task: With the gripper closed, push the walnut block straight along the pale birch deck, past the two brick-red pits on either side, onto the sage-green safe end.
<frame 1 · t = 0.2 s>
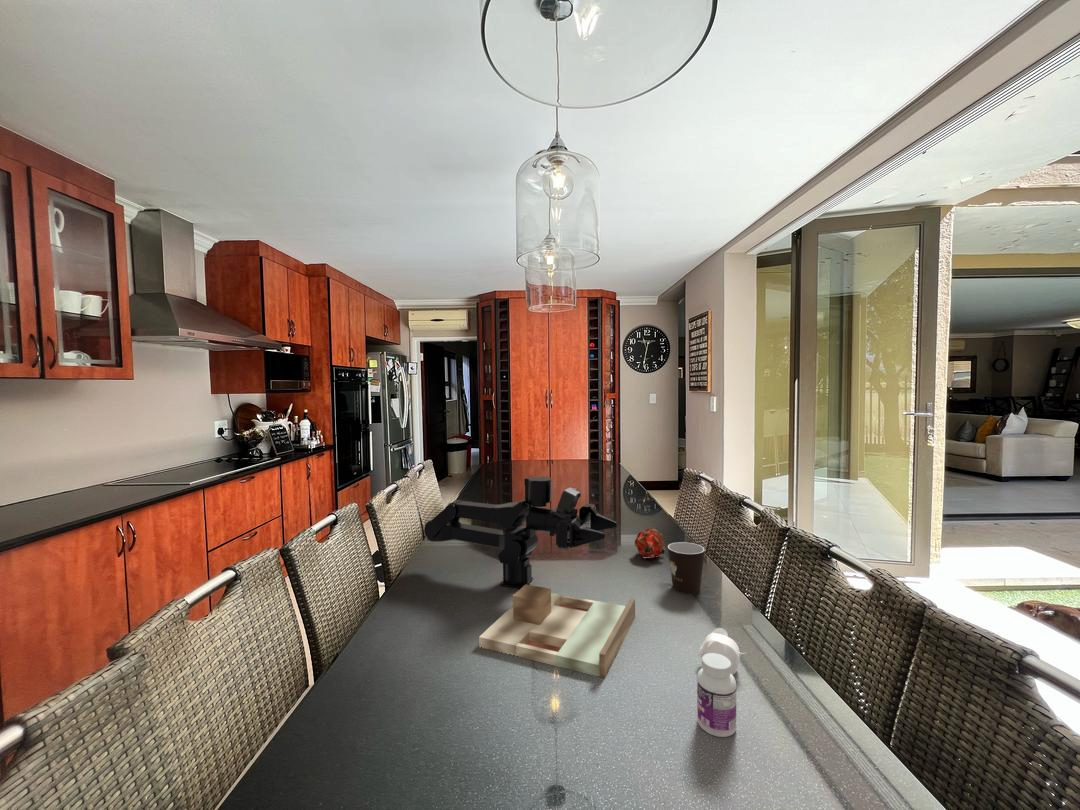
hand: (611, 530, 107), 17 cm above the table, tool horizontal, fingers open, 9 cm apart
coffee mug: (685, 586, 115), on the table
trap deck: (559, 630, 95), on the table
dragon fruit: (650, 557, 136), on the table
walnut block: (532, 615, 97), point 2 cm above the table, touching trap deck
pill bottle: (716, 726, 67), on the table
elephant figurine: (721, 669, 81), on the table
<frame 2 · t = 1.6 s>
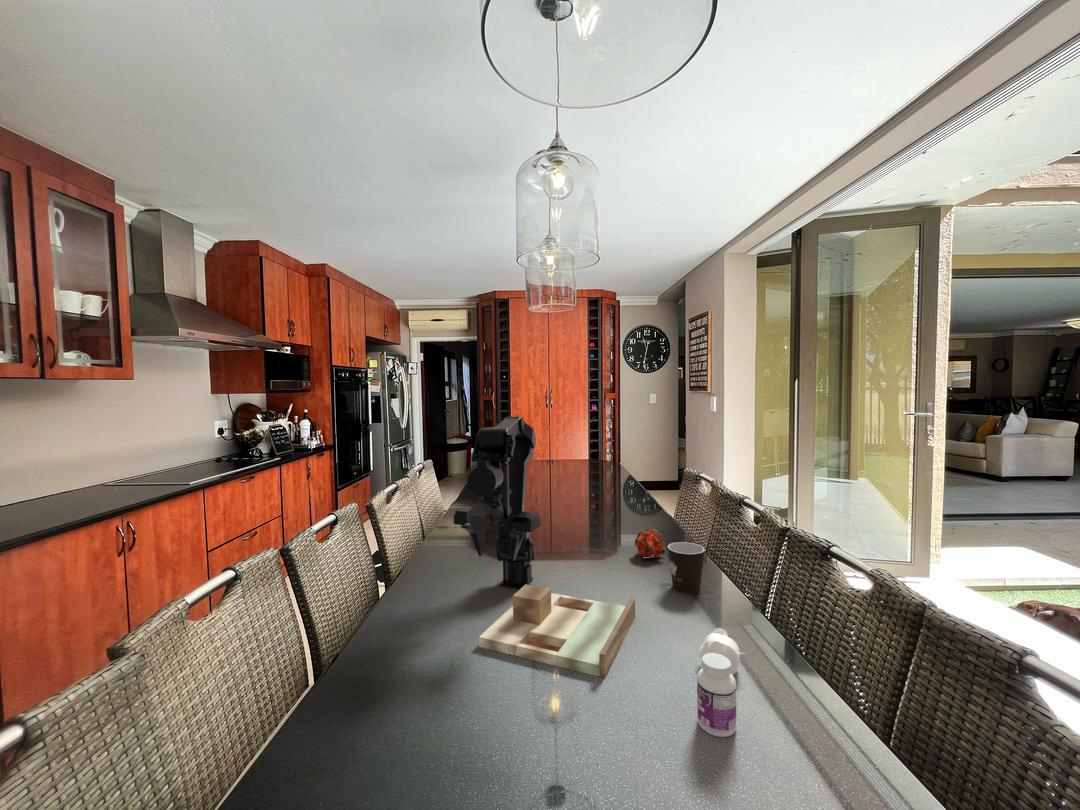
hand: (496, 558, 100), 13 cm above the table, tool pointing down, fingers open, 8 cm apart
nothing on the table moved.
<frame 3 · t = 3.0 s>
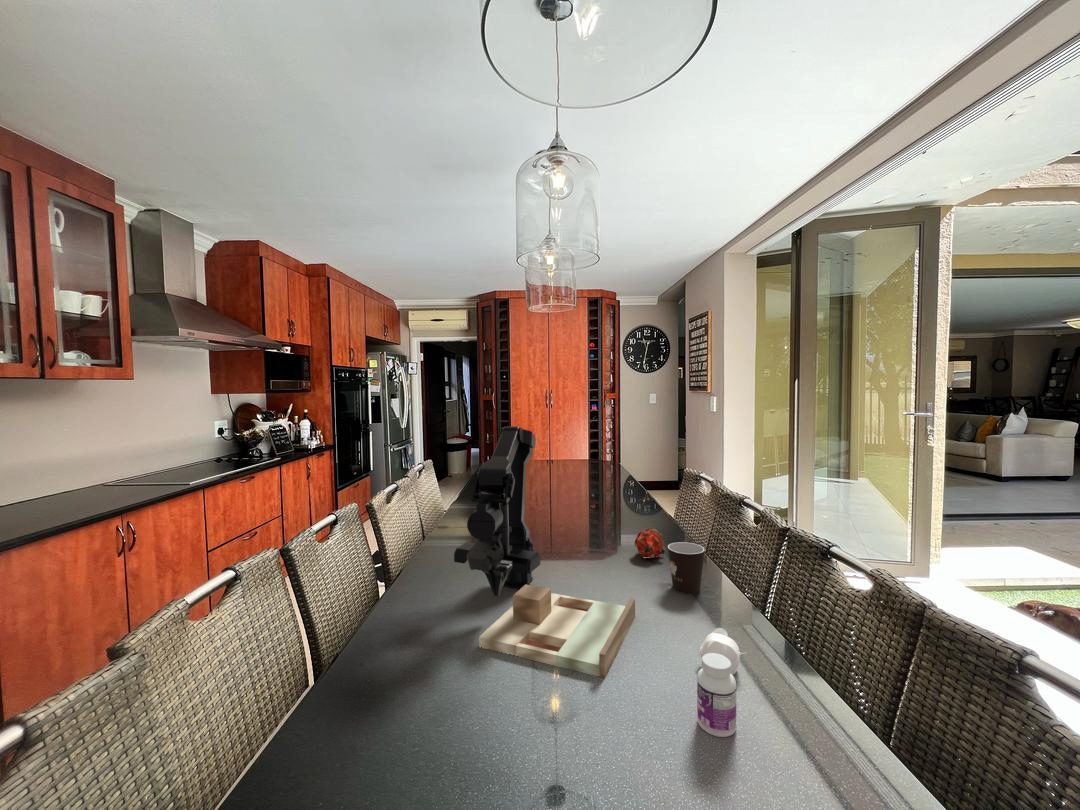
hand: (497, 595, 101), 5 cm above the table, tool pointing down, fingers closed
nothing on the table moved.
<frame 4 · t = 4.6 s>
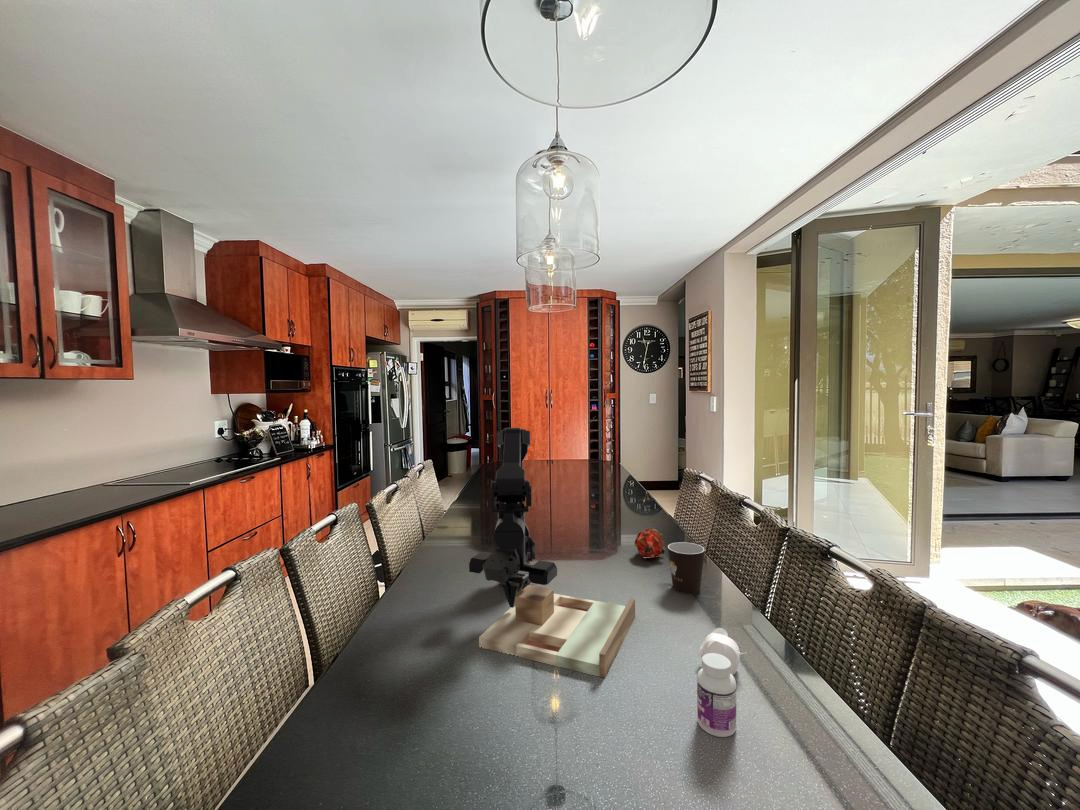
hand: (512, 606, 99), 3 cm above the table, tool pointing down, fingers closed
walnut block: (535, 616, 97), point 2 cm above the table, touching gripper, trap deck
everything else where it was.
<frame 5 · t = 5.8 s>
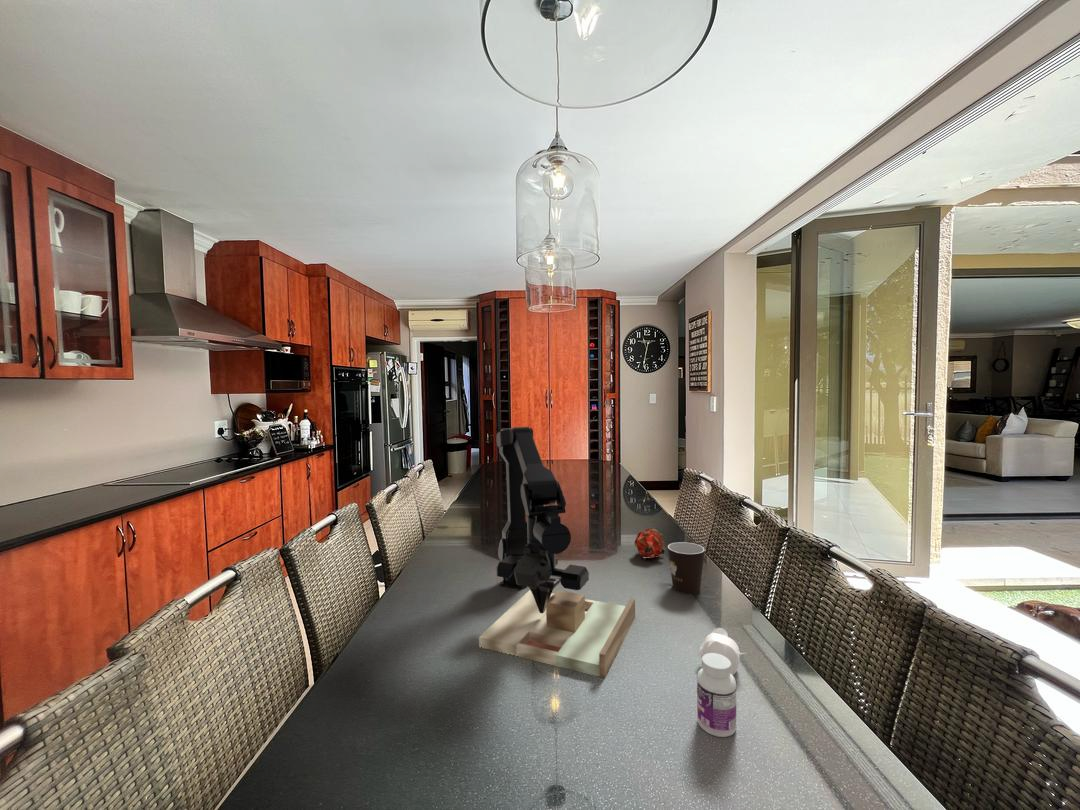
hand: (542, 612, 96), 3 cm above the table, tool pointing down, fingers closed
walnut block: (566, 622, 94), point 2 cm above the table, touching gripper
everything else where it was.
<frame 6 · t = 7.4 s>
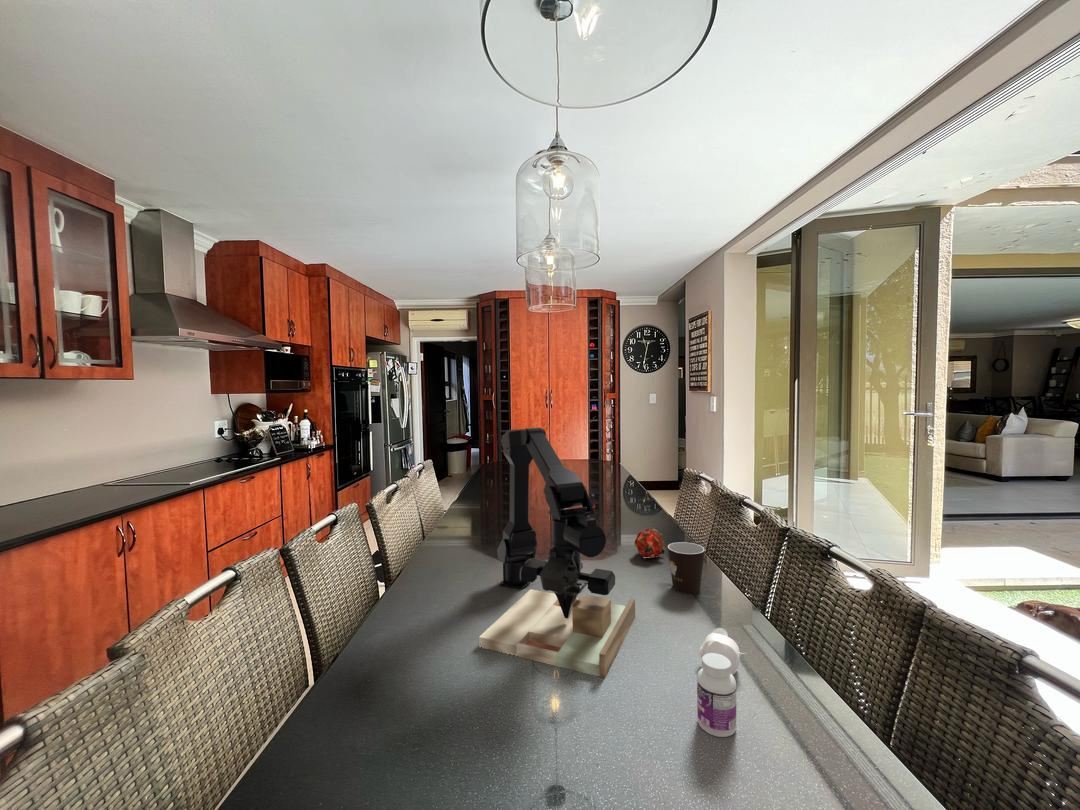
hand: (567, 617, 94), 3 cm above the table, tool pointing down, fingers closed
walnut block: (592, 627, 92), point 2 cm above the table, touching gripper, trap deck
everything else where it was.
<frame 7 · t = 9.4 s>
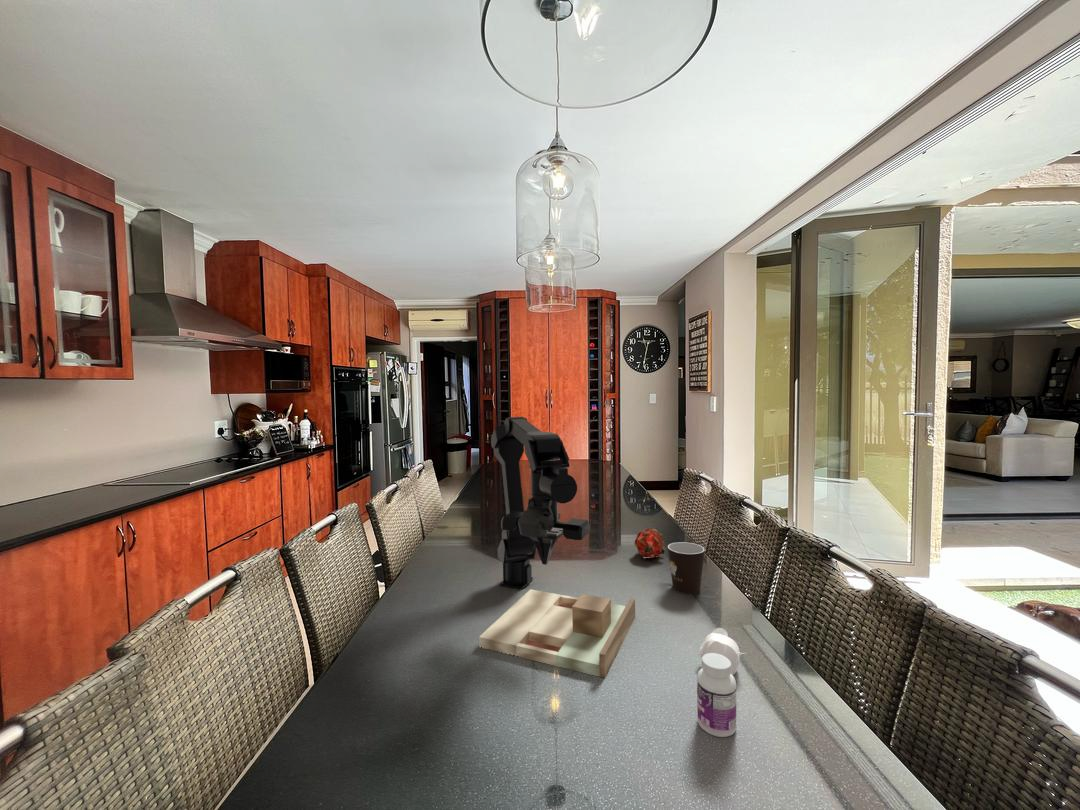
hand: (545, 564, 100), 12 cm above the table, tool pointing down, fingers closed
walnut block: (592, 627, 92), point 2 cm above the table, touching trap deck
everything else where it was.
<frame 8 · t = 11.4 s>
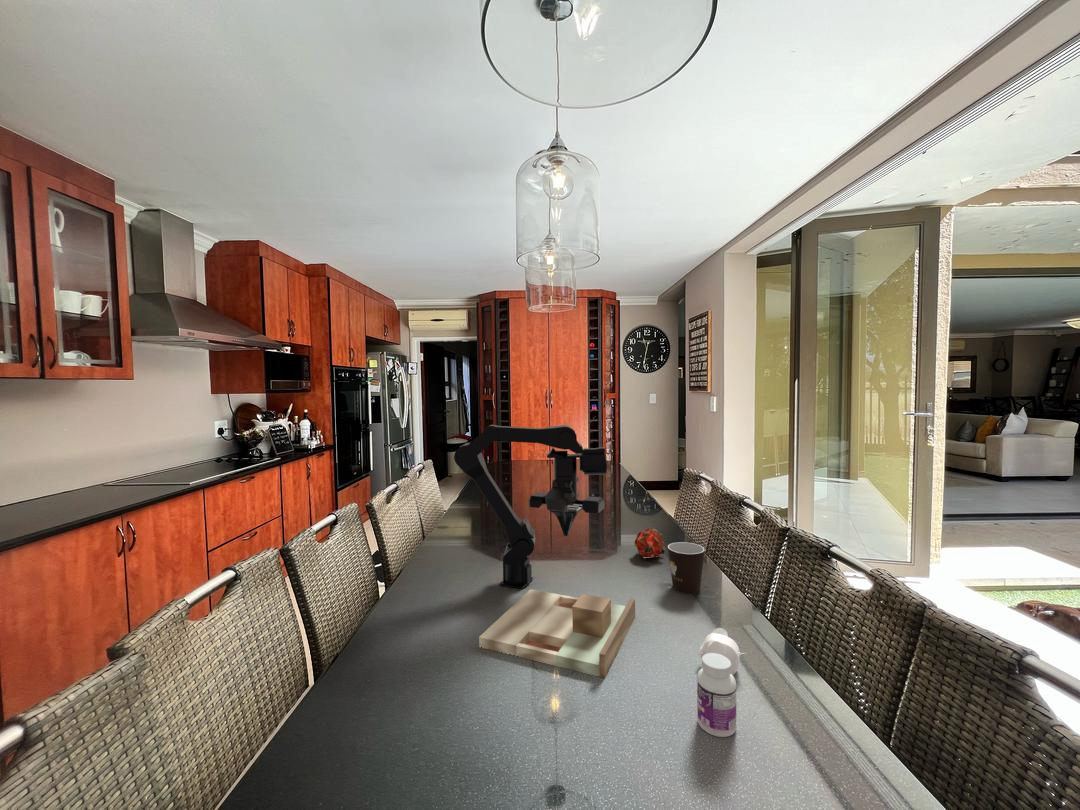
hand: (566, 535, 118), 12 cm above the table, tool pointing down, fingers closed
nothing on the table moved.
at the end: walnut block inside the target area on the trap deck (1.0 cm from its centre), point 2.0 cm above the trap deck's base; walnut block tilted 0° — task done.
